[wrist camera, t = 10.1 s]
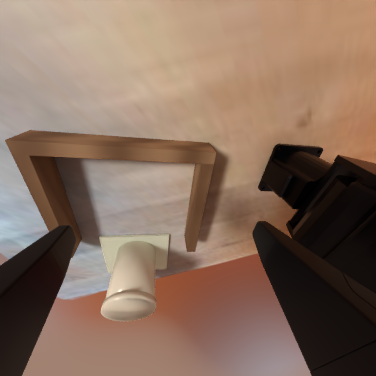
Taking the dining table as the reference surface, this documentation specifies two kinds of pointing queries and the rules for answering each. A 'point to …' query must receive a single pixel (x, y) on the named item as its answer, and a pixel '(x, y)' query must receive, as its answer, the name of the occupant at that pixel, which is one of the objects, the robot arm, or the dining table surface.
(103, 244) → the pad
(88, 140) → the cradle
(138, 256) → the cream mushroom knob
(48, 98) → the dining table surface
